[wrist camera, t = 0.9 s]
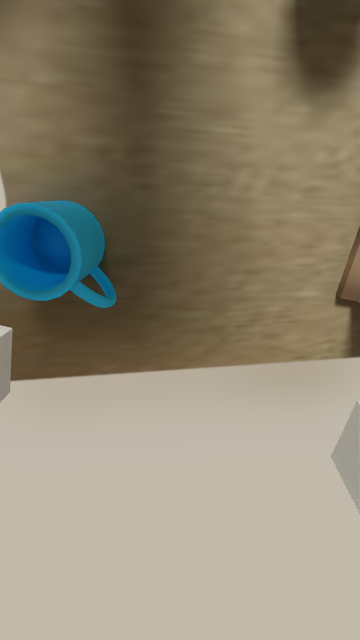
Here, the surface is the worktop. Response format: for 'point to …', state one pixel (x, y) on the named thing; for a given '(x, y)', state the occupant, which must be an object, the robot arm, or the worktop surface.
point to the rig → (351, 275)
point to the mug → (52, 252)
